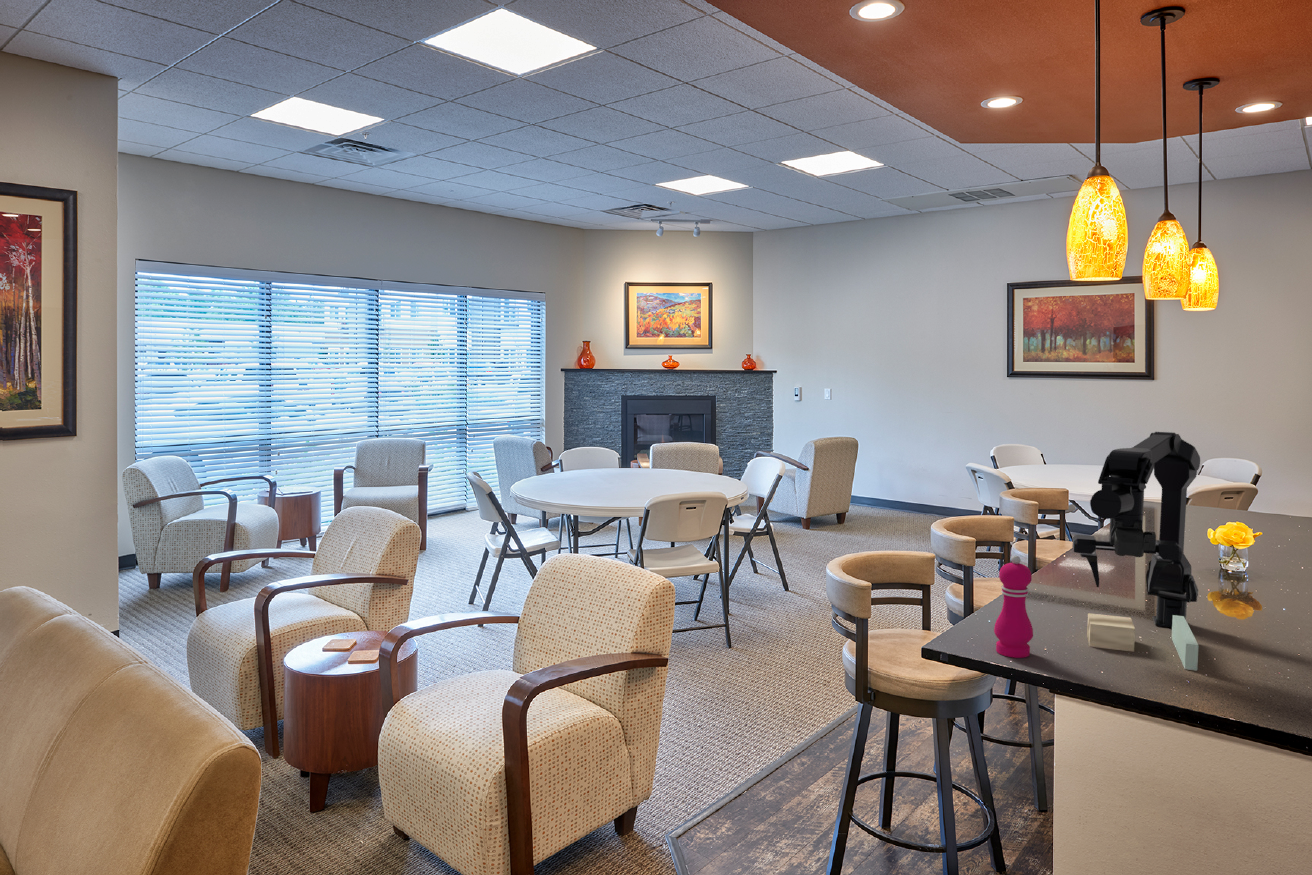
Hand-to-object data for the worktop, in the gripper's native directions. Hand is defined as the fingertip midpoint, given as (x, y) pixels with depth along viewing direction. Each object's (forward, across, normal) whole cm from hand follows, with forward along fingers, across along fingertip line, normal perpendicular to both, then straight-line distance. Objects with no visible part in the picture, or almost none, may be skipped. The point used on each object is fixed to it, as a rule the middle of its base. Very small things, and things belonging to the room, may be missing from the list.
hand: (1123, 589), depth 167 cm
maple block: (+13, -2, +4) cm, 14 cm away
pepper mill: (+13, -20, -10) cm, 26 cm away
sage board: (+13, +11, +3) cm, 17 cm away
